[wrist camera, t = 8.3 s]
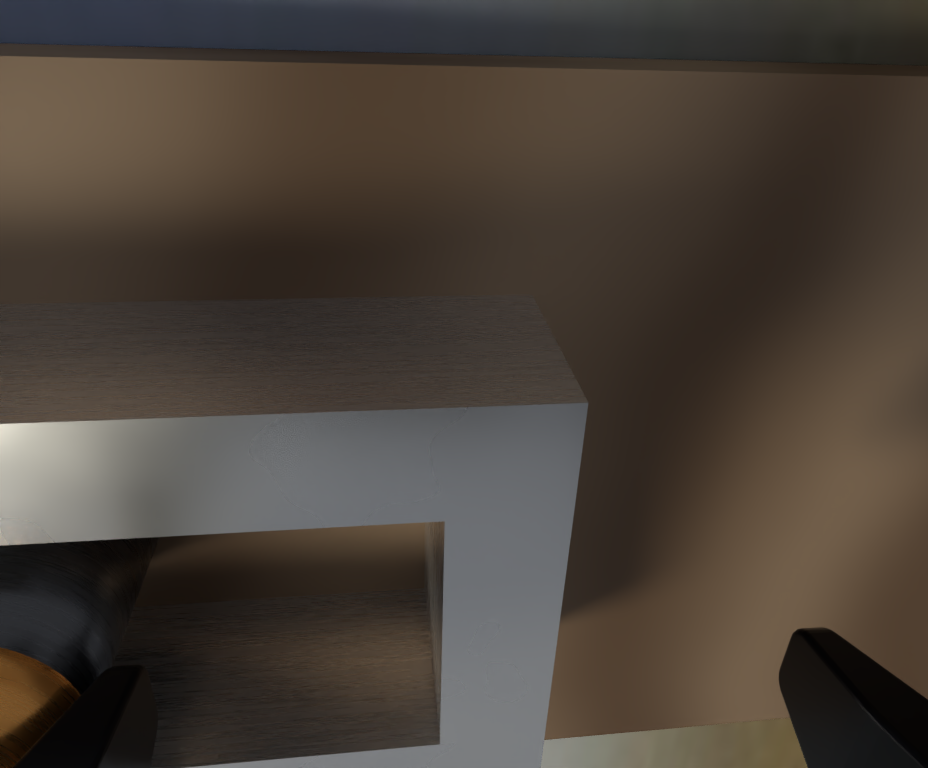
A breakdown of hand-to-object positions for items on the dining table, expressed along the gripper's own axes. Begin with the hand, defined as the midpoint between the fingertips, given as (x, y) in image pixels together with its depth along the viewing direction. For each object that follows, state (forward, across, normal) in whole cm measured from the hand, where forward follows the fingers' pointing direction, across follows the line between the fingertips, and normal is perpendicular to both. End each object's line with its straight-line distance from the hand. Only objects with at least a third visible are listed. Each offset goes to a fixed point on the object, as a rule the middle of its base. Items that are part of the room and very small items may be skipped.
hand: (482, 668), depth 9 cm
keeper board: (+5, -4, 0) cm, 6 cm away
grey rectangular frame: (+3, +5, 0) cm, 6 cm away
